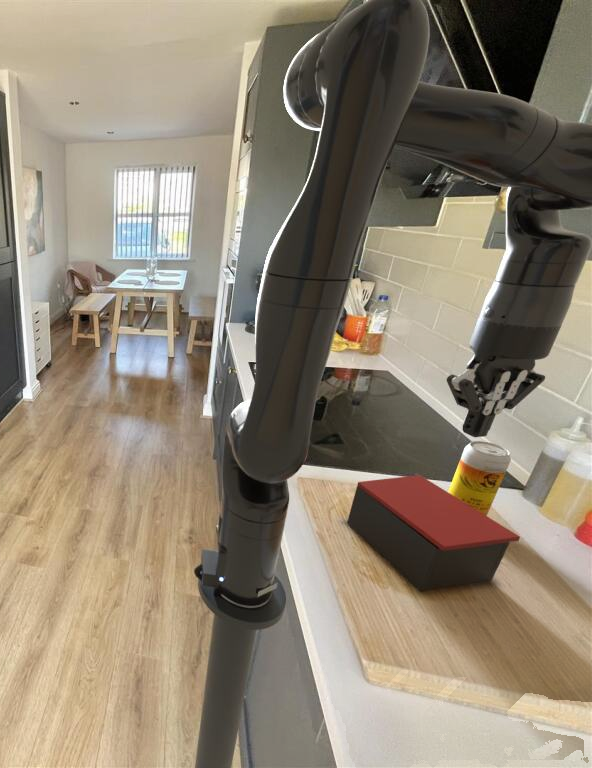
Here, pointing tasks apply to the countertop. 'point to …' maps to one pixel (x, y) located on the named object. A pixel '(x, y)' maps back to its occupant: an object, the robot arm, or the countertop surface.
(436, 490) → the lid
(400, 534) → the black storage bin
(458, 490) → the beer can
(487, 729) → the countertop surface
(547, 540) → the countertop surface
